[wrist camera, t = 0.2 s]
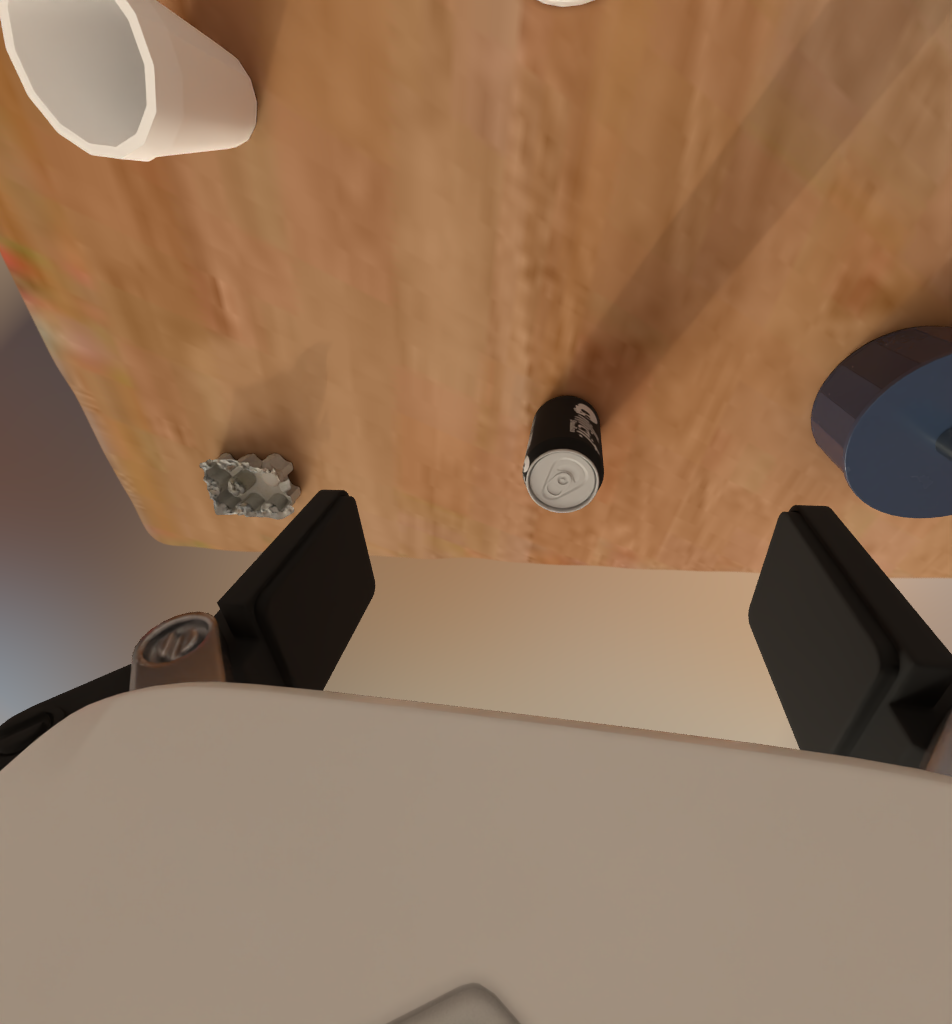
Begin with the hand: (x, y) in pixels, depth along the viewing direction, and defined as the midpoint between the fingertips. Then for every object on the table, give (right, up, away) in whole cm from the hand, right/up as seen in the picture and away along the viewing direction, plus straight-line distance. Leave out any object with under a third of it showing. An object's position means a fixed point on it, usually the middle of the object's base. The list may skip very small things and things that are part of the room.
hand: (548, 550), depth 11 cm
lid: (+33, +6, +24) cm, 41 cm away
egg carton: (-28, +5, +48) cm, 56 cm away
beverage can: (+7, +10, +37) cm, 39 cm away
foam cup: (-22, +34, +27) cm, 49 cm away
